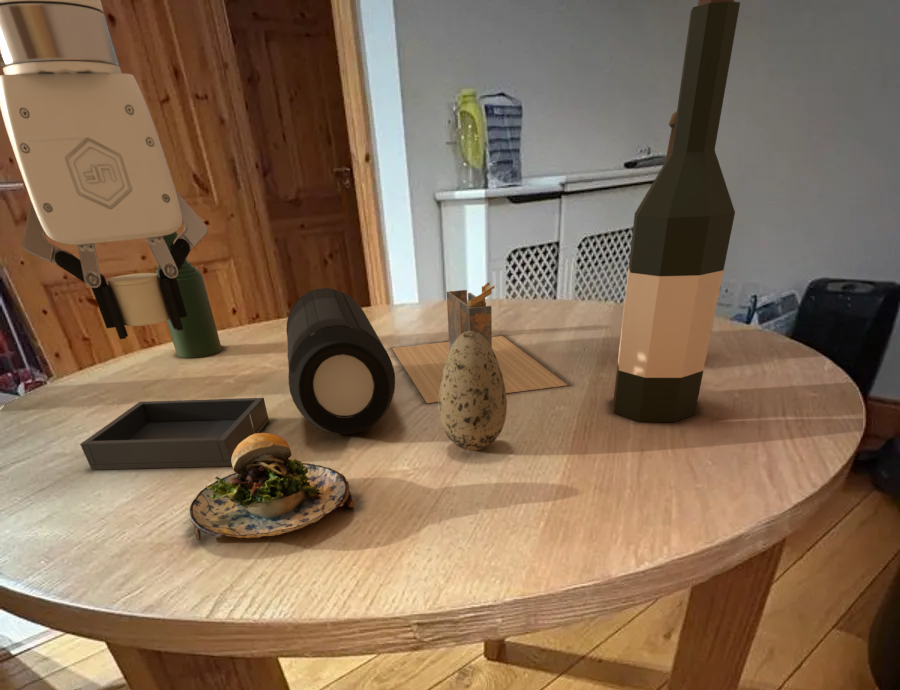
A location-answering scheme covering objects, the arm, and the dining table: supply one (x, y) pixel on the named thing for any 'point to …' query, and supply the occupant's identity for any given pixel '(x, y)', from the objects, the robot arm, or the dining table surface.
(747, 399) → the dining table surface
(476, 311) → the architectural model on board
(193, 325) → the bottle
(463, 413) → the decorative egg
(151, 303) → the cap
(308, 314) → the portable speaker
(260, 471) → the burger
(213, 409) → the tray
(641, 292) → the wine bottle
